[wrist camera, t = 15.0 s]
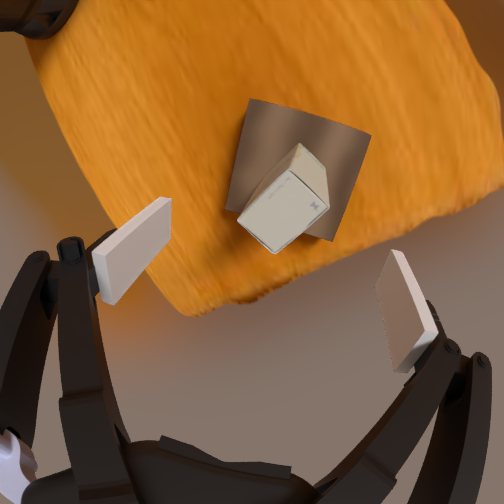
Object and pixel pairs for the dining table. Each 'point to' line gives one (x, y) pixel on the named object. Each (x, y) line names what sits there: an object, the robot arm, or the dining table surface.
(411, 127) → the dining table surface
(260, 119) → the plate
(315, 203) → the skincare box
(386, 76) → the dining table surface
